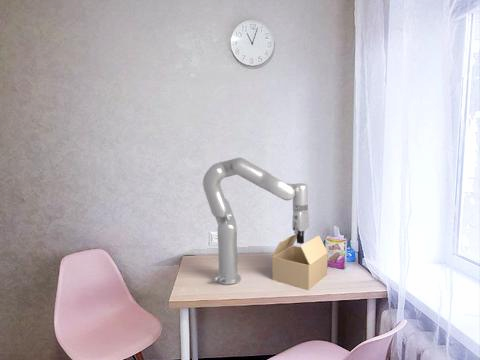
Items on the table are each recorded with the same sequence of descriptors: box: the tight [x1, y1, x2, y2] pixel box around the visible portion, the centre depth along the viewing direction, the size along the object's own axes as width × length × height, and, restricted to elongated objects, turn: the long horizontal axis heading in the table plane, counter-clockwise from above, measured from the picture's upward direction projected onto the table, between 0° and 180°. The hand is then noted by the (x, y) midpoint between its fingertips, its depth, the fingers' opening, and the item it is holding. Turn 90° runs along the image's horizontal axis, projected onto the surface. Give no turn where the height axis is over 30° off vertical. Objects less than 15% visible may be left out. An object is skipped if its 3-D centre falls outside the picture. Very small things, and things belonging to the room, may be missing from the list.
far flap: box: [272, 234, 297, 257], centre depth 164 cm, size 21×10×1 cm
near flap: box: [299, 235, 328, 265], centre depth 155 cm, size 21×10×1 cm
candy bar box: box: [324, 235, 348, 270], centre depth 173 cm, size 11×5×16 cm, turn 59°
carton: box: [271, 245, 328, 291], centre depth 160 cm, size 22×20×12 cm
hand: (300, 243), depth 159 cm, fingers closed
